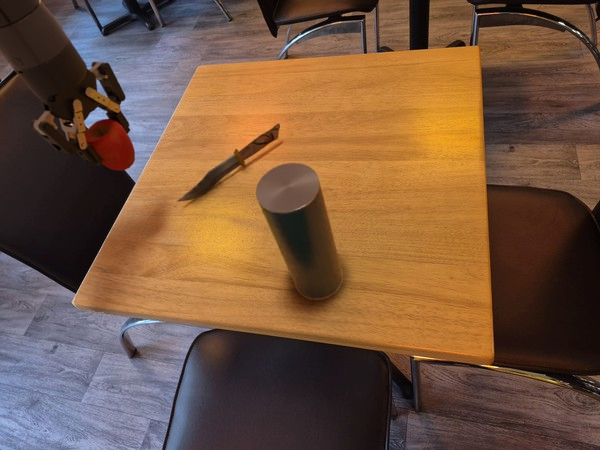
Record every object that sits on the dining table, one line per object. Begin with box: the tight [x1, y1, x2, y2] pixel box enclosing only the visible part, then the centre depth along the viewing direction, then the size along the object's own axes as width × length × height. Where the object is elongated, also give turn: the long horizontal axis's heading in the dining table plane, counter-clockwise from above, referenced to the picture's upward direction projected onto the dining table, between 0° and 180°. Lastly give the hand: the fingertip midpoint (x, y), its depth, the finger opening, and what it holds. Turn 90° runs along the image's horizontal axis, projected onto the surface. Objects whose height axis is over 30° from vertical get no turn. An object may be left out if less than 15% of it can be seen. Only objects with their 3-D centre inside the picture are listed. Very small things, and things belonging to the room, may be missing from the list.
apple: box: [85, 118, 136, 172], centre depth 67 cm, size 6×6×8 cm
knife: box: [175, 123, 281, 203], centre depth 84 cm, size 25×1×5 cm, turn 126°
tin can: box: [255, 162, 344, 301], centre depth 60 cm, size 8×8×22 cm
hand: (111, 147), depth 67 cm, fingers closed on apple, 6 cm apart
